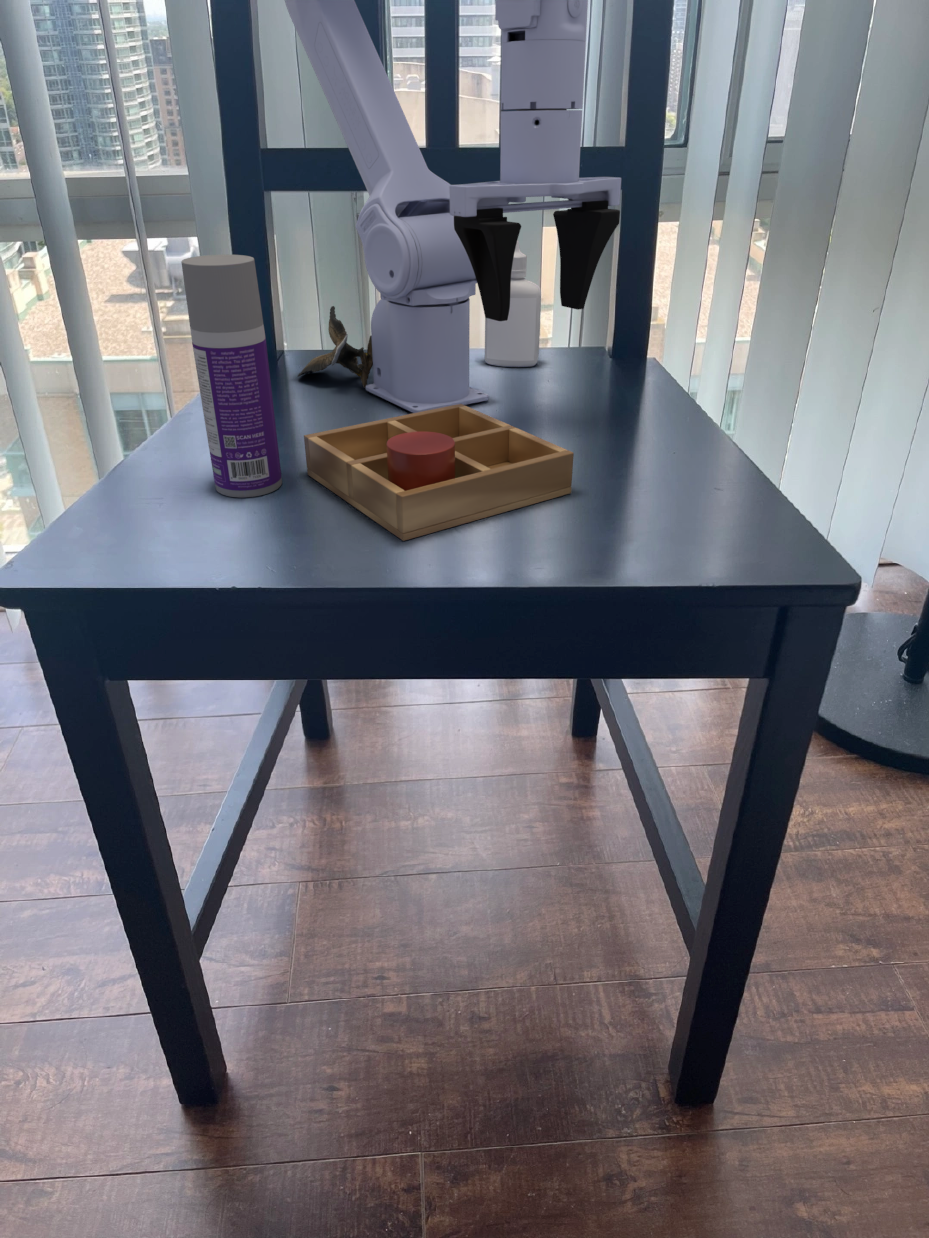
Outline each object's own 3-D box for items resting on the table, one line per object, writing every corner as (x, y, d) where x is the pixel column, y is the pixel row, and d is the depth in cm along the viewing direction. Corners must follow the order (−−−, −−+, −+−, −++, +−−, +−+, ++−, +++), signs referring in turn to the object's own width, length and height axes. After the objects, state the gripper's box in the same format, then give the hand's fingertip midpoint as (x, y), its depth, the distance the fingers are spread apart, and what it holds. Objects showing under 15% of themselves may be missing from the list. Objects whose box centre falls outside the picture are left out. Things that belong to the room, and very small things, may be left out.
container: (294, 477, 62) (270, 256, 55) (260, 501, 58) (229, 267, 51) (238, 469, 64) (207, 252, 56) (202, 492, 60) (163, 263, 52)
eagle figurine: (406, 363, 85) (342, 335, 89) (384, 309, 79) (316, 281, 83) (359, 418, 83) (295, 387, 87) (332, 367, 77) (265, 336, 81)
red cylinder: (377, 496, 57) (374, 439, 55) (432, 483, 60) (431, 427, 57) (411, 519, 54) (409, 459, 52) (468, 503, 56) (468, 445, 54)
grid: (307, 474, 63) (303, 435, 61) (461, 439, 69) (461, 403, 68) (403, 541, 53) (401, 496, 52) (571, 493, 60) (574, 452, 58)
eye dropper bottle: (520, 372, 87) (525, 245, 81) (477, 363, 90) (479, 240, 84) (545, 363, 90) (551, 240, 84) (502, 355, 93) (505, 236, 87)
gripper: (491, 110, 54) (490, 333, 60) (656, 109, 61) (639, 310, 67) (430, 112, 59) (436, 318, 65) (589, 111, 66) (579, 297, 72)
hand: (535, 313), depth 67 cm, fingers open, 7 cm apart
